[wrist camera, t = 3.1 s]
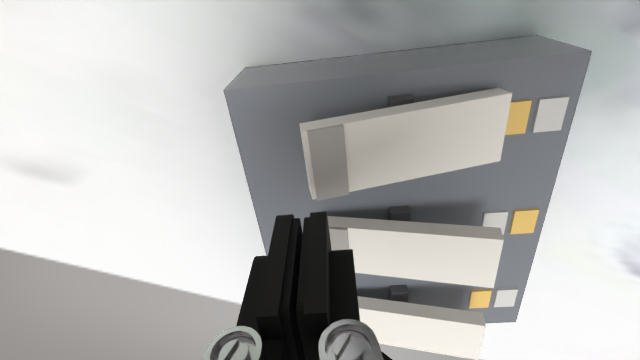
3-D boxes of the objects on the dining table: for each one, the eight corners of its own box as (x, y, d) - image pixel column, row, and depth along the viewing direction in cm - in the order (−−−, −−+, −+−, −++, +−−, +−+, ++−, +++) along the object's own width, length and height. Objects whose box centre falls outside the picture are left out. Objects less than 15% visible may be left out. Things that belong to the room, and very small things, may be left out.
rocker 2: (500, 227, 18) (504, 242, 17) (490, 275, 20) (494, 291, 19) (321, 215, 21) (316, 227, 20) (327, 258, 23) (323, 271, 22)
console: (537, 35, 20) (602, 53, 15) (489, 273, 30) (520, 329, 26) (244, 67, 22) (219, 94, 17) (292, 284, 32) (285, 339, 27)
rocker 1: (498, 87, 17) (515, 94, 16) (488, 153, 19) (502, 162, 17) (299, 123, 16) (303, 133, 15) (309, 189, 17) (313, 201, 16)
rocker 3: (483, 312, 22) (485, 328, 21) (476, 346, 24) (478, 362, 23) (332, 292, 25) (328, 306, 24) (336, 324, 26) (333, 338, 25)
